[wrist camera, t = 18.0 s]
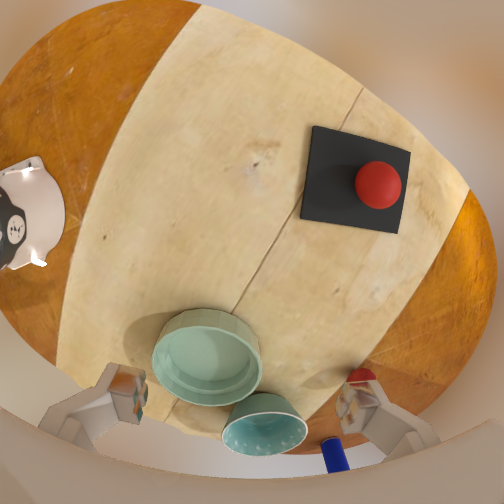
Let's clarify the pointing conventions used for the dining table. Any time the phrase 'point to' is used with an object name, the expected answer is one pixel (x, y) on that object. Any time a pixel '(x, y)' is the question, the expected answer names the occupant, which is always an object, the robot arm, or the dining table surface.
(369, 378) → the onion
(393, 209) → the mat
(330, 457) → the beverage can
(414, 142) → the dining table surface
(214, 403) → the fruit bowl
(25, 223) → the robot arm
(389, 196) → the red ball
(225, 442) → the bowl
